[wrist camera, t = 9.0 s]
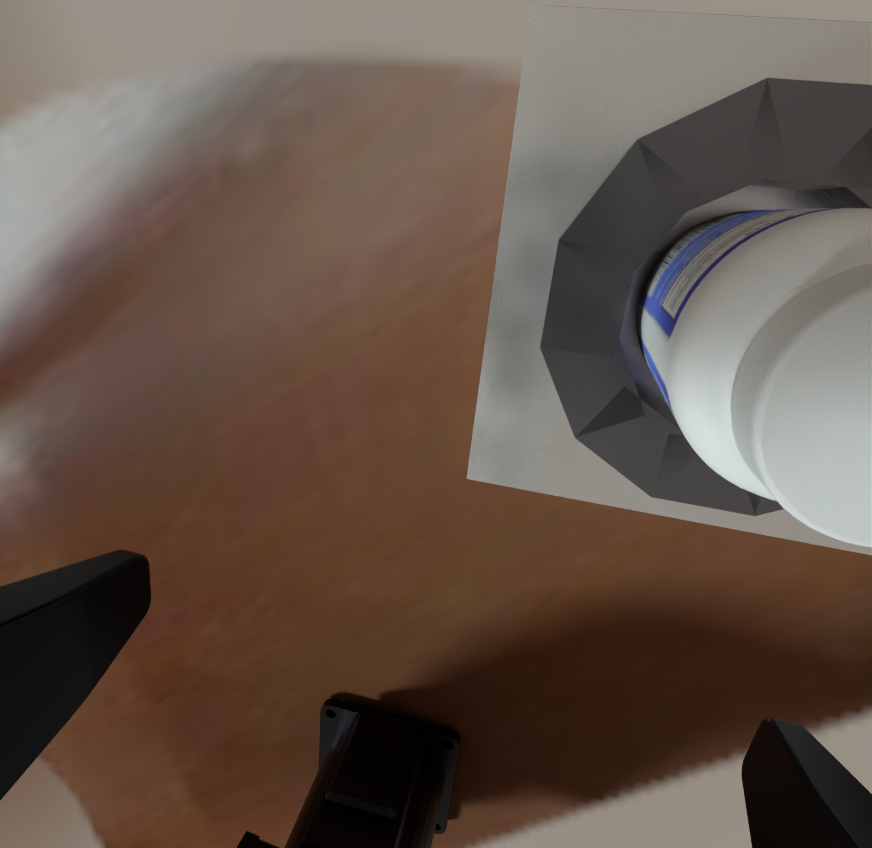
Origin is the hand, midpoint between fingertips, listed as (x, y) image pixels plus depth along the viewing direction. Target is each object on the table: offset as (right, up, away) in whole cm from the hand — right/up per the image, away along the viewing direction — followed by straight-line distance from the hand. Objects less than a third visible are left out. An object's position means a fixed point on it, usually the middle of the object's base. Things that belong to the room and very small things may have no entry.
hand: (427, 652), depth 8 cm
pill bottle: (+9, +7, +8) cm, 14 cm away
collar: (+9, +7, +9) cm, 14 cm away
